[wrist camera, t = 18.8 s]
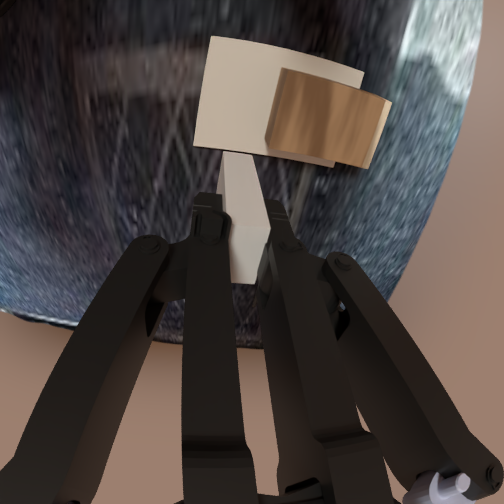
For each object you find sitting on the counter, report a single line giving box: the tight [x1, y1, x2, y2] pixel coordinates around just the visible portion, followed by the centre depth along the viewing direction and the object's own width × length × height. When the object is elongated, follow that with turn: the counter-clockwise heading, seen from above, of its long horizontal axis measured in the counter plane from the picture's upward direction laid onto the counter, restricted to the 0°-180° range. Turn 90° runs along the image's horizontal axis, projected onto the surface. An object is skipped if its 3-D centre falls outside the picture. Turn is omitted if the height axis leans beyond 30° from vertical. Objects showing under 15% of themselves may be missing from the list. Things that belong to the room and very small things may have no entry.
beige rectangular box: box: [264, 67, 392, 169], centre depth 35 cm, size 4×10×14 cm
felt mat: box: [193, 36, 364, 168], centre depth 35 cm, size 20×15×1 cm
